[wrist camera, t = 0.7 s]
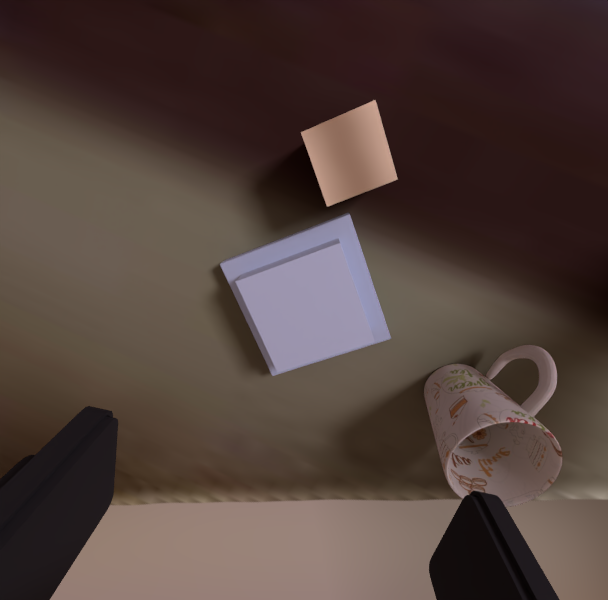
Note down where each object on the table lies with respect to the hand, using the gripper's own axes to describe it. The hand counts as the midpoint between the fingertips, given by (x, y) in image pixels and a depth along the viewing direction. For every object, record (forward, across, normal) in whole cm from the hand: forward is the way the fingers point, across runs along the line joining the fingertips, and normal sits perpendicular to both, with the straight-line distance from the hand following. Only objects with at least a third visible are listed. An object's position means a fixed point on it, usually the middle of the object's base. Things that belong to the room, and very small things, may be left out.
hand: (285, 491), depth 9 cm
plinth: (+23, -1, +2) cm, 24 cm away
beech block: (+23, -1, -10) cm, 25 cm away
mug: (+23, -18, +6) cm, 30 cm away
